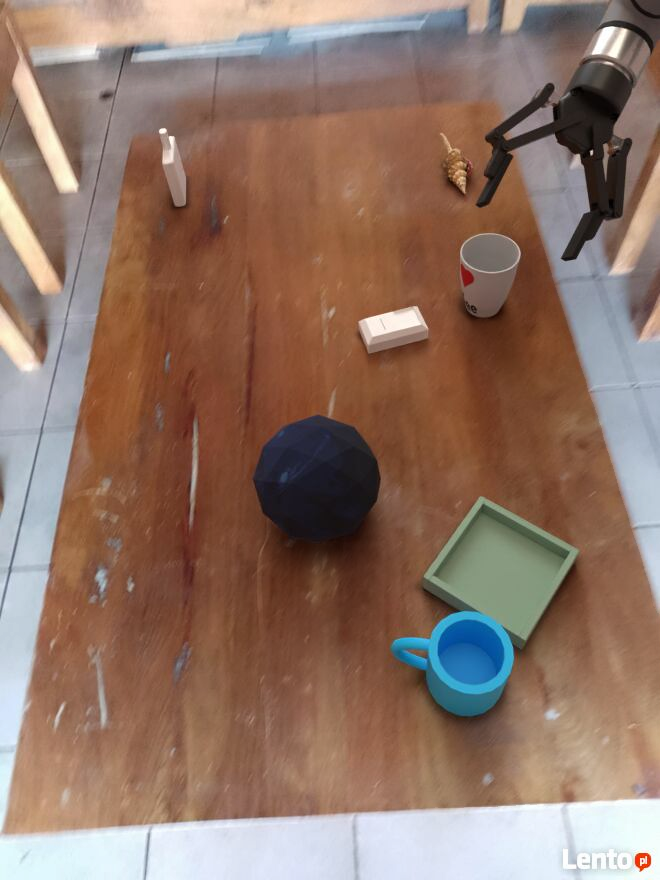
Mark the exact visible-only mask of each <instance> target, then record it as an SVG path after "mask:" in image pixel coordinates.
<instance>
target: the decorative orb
mask: <svg viewBox="0 0 660 880" xmlns="http://www.w3.org/2000/svg"><path fill="white" fill-rule="evenodd" d="M381 480H382V477H381V472H380V468H379V463H378V460H377V457H376V456H375V454H374V451H373V449H372V448H371V446H370V445H369V443H368V442H367V441H366V439H365V438H364V437H363V436H362V435H361V434H360V432H359V431H358V430H357V429H356V427H355V426H353V425H350V424H347V423H344V422H341V421H338V420H335V419H333V418H329V417H327V416H324V415H321V414H315V415H312V416H308V417H305V418H303V419H300V420H297V421H294V422H292V423H291V422H290V423H289V424H285V425H284V426H282V427H281V428H279V430H278V431H277V432H276V433H275V434H274V435H273V436H272V437H271V438H270V439H269V440H268V441H267V442H266V443H265V444H264V445H263V446H262V449H261V452H260V455H259V458H258V461H257V464H256V467H255V471H254V474H253V477H252V481H253V484H254V489H255V492H256V495H257V498H258V502H259V505H260V508H261V513H262V514H264V515H265V516H266V517H267V518H268V519H269V520H270V521H271V522H272V523H274V524H275V525H276V526H277V527H278V528H279V529H281V531H282V532H283V533H285V534H286V535H287V536H288V537H290V538H294V539H296V540H297V539H298V540H302V541H306V542H309V543H315V544H319V543H323V542H327V541H331V540H335V539H337V538H341V537H344V536H348V535H352V534H354V533H355V532H356V531H357V529H358V527H359V526H360V525H361V524H362V522H363V521H364V519H365V518H366V517H367V515H368V514H369V513H370V511H371V510H372V508H373V507H374V506H375V505H376V503H377V501H378V497H379V491H380V487H381Z"/></svg>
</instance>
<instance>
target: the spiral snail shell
mask: <svg viewBox="0 0 660 880" xmlns="http://www.w3.org/2000/svg"><path fill="white" fill-rule="evenodd" d="M439 136H440V137H441V139H442V141H443V146H444V149H445V152H446V156H444V159H443V162H442V172H443V173H445V176H446V177H447V178H449V180H450V181H452V182H453V184H454V185H456V187H458V189H459V190H460V191H461V192H462V193H463V194H464V195H466V185H467V177H470V175H471V174H473V171H474V167H475V165H474V164H473V162H472V160H471V159H470V158H469V157H468V156H467V155H465V154H463V153H461V150H460V148H452V147H451V144H450V141H448V137H446V136H445V134H444V133H442V132H440V133H439Z"/></svg>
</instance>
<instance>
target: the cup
mask: <svg viewBox="0 0 660 880" xmlns="http://www.w3.org/2000/svg"><path fill="white" fill-rule="evenodd" d="M459 253H460V255H459V256H460V257H459V279H460V280H459V281H460V288H461V295H462V299H463V303H464V305H465V308H466V310H467V312H469V314H470V315H472V316H475V317H477V318H490V317H493V316H495V315H496V314H498V312H499V311H500V310H501V308H502V307H503V305H504V303H505V302H506V300H507V299H508V297H509V294H510V291H511V289H512V287H513V284H514V282H515V278H516V274H517V272H518V271H517V270H518V267H519V264H520V259H521V255H522V254H521V249H520V247H519V245H518V244H517V243H516V242H515V241H514V240H513V239H511V238H510V237H508V236H506V235H503V234H500V233H492V232H491V233H490V232H488V233H480V234H476V235H473V236H471V237H469V238H468V239H467V240H465V241H464V242H463V244H462V245H461V246H460V252H459Z"/></svg>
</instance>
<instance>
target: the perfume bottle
mask: <svg viewBox="0 0 660 880" xmlns="http://www.w3.org/2000/svg"><path fill="white" fill-rule="evenodd" d="M158 134H159V138H160V142H161V145H162V161H161V165H162V169H163V172H164V174H165V179H166V182H167V184H168V188H169V192H170V195H171V198H172V201H173V205H174V206H175V207H177V208H178V207H184V206H186V204H187V176H186V173H185V170H184V165H183V162H182V157H181V155H180V151H179V147H178V145H177V140H176V138H175V136H173V135H169V134H168V129H166V128H165V127H163V128H160V129H159V130H158Z"/></svg>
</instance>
